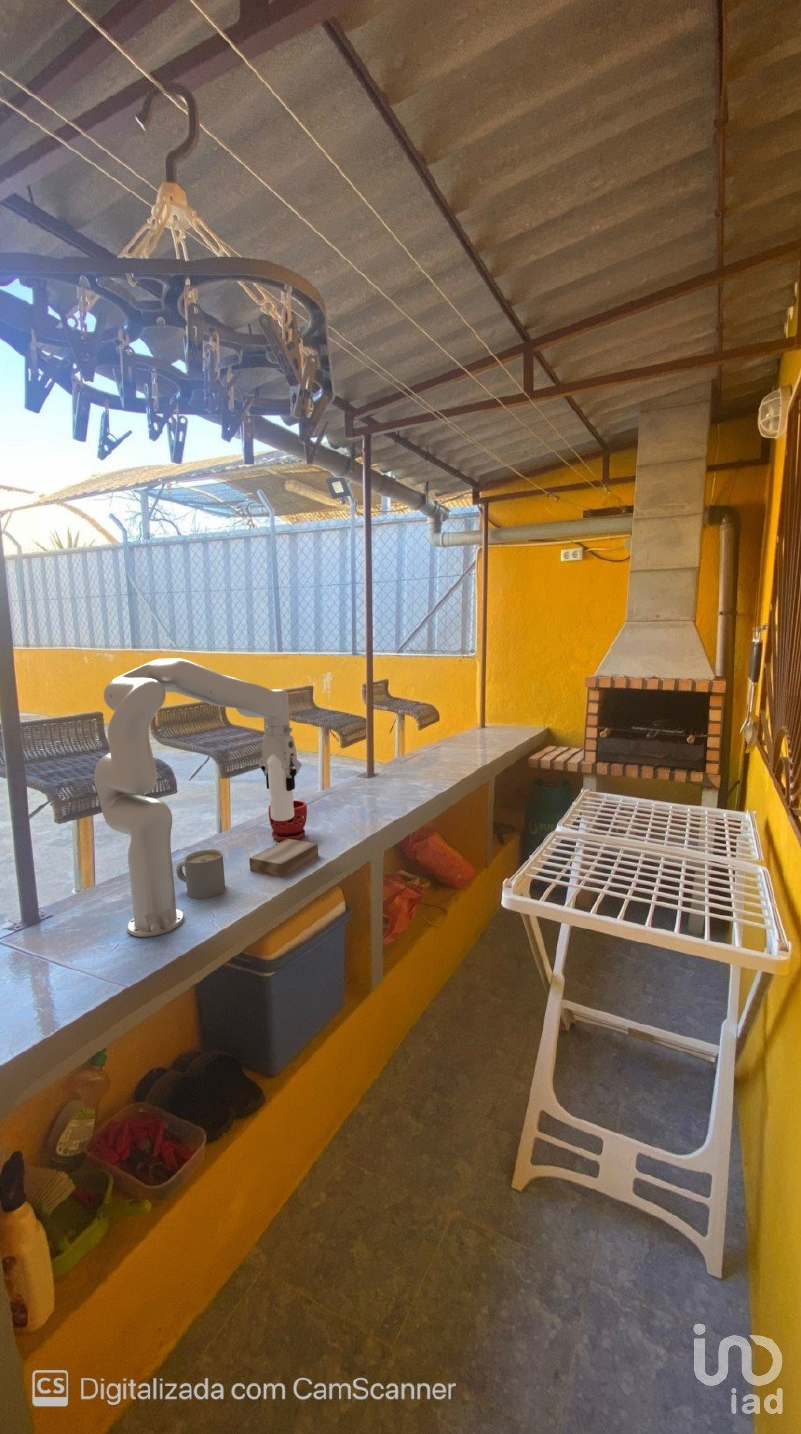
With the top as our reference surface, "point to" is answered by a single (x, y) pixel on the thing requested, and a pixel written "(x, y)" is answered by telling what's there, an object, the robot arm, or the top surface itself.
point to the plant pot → (290, 823)
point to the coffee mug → (203, 873)
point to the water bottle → (279, 791)
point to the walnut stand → (283, 857)
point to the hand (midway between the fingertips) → (280, 788)
